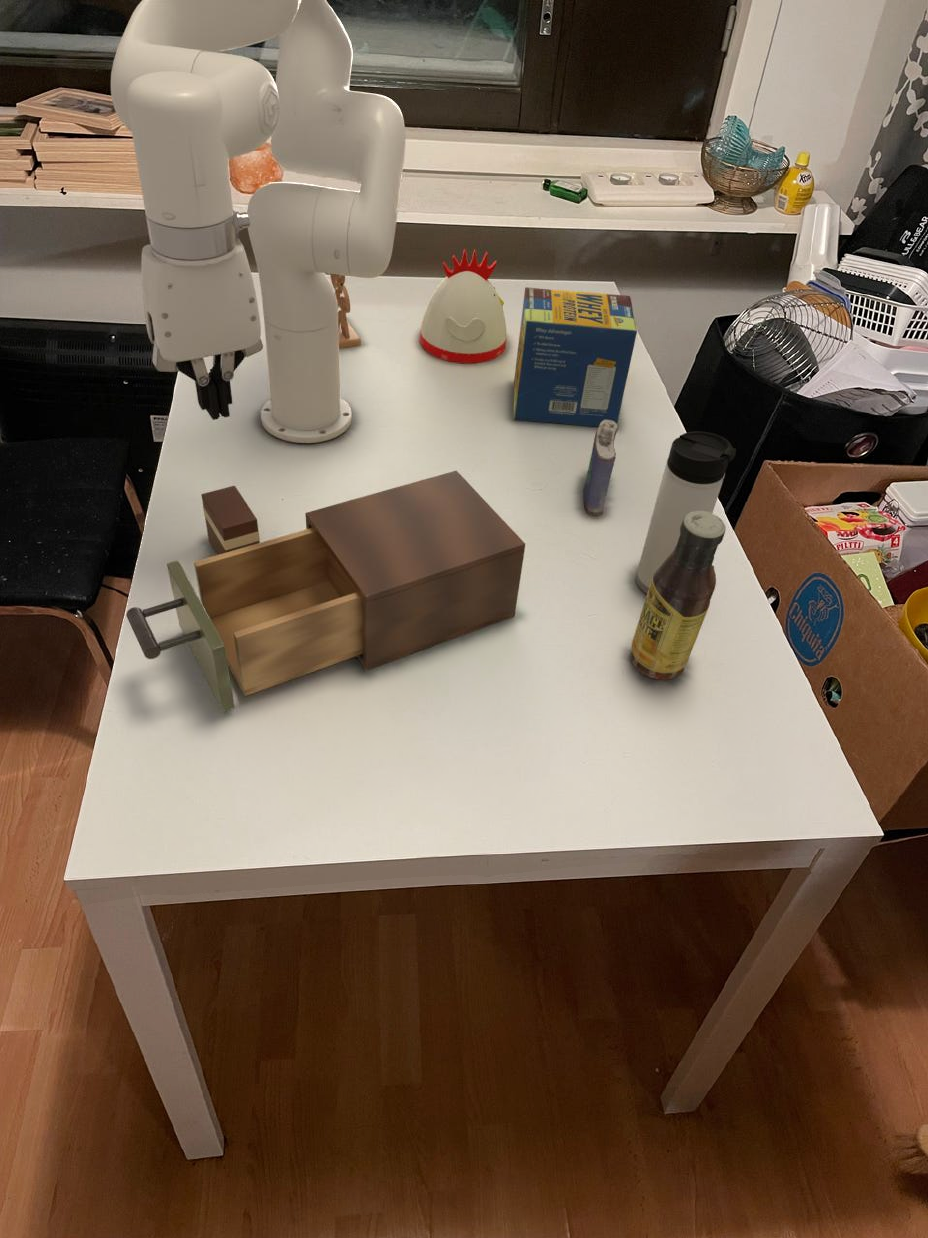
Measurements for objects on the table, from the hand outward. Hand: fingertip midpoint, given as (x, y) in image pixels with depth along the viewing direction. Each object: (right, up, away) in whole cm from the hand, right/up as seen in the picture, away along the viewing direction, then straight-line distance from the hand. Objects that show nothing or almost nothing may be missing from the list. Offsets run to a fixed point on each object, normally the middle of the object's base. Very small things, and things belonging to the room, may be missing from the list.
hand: (216, 411), depth 95 cm
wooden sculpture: (+6, +24, +53) cm, 59 cm away
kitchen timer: (+25, +23, +54) cm, 64 cm away
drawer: (+4, -24, +1) cm, 25 cm away
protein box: (+40, +10, +42) cm, 59 cm away
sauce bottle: (+47, -26, +5) cm, 54 cm away
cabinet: (+20, -19, +9) cm, 29 cm away
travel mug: (+49, -17, +15) cm, 54 cm away
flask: (+43, -5, +27) cm, 51 cm away
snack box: (-1, -14, +13) cm, 19 cm away
